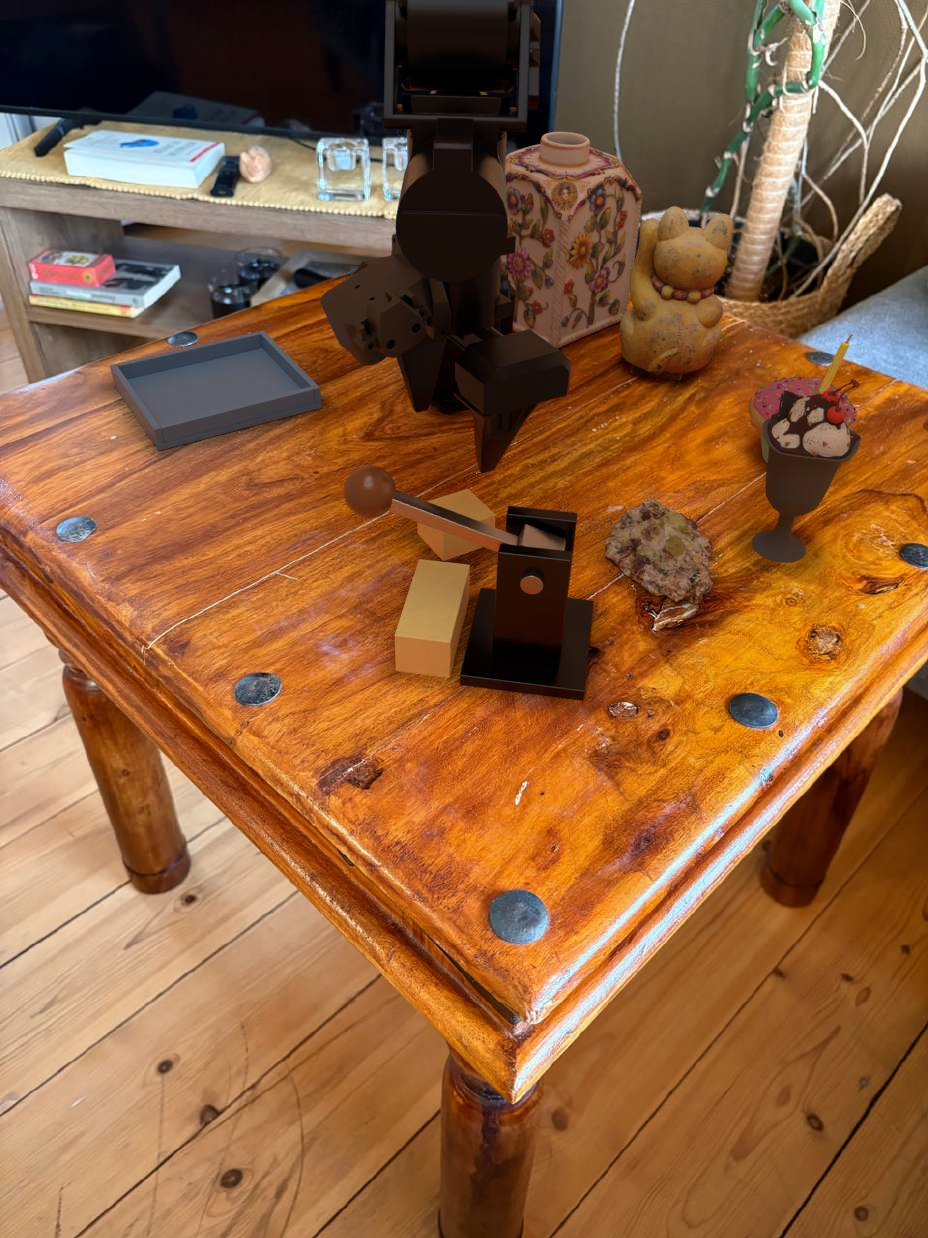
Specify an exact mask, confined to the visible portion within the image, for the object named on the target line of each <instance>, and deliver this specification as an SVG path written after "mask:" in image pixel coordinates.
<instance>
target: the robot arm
mask: <svg viewBox="0 0 928 1238" xmlns="http://www.w3.org/2000/svg"><path fill="white" fill-rule="evenodd" d="M534 10H535V1H534V0H385V11H384V13H385V14H384V15H385V18H384V19H385V20H384V64H383V65H384V66H383V72H384V73H383V78H384V79H383V114H382V115H383V118H382V119H383V120H382V121H383V129H385V130H407V131H406V153H407V154H406V157H407V159H406V160H407V161H406V162H407V164H406V167H405V170H404V174H403V178H402V183H401V188H400V194H399V198H398V204H397V210H396V215H395V233H393V234H392V235H391V252H390V255H387V256H382V257H377V258H371V259H367V260H363V261H362V262H361V263H360V264H359V266H358V267H357V269H356V270H355V271H354V273H353V274H352V275H350V276H349V277H348V278H346V279H345V280H343V281H341V282H339V283H338V284H336V285H335V286H333V287H332V288H330V289H328V290H326V291H325V292H324V293H323V294H322V295H321V297H320V300H319V303H320V306H321V308H322V310H323V312H324V314H325V316H326V319H327V321H328V323H329V325H330V327H331V329H332V331H333V334H334V336H335V338H336V340H337V343H338V344H339V346H341V348H343V349H345V350H346V351H348V353H350V354H351V355H352V357H354V359H355V360H356V362H358V363H359V364H360V365H361V366H365V367H366V366H367V367H369V366H375V365H378V364H380V363H381V362H383V361H384V360H386V359H387V358H390V359H396V362H397V364H398V367H399V370H400V373H401V376H402V379H403V382H404V385H405V388H406V392H407V394H408V398H409V401H410V404H411V407H412V409H413V412H415V413H416V414H418V413H423V412H426V411H429V409H430V407H431V404H433V405H434V406H435V407H436V408H437V409H439V410H440V411H441V412H443V413H444V414H451V413H453V412H454V413H455V412H457V411H461V410H464V409H470V411H471V413H472V425H473V436H474V437H473V438H474V449H475V458H476V466H477V471H478V472H479V473H480V474H487V473H491V472H492V471H494V470H496V468H497V466H498V465H499V463H500V462H501V460H502V459H503V457H504V456H505V453H506V452H507V451H508V449H509V447H510V446H511V444H512V443H513V441H514V440H515V438H516V437H517V435H518V433H519V431H520V430H521V428H522V427H523V425H524V424H525V423H526V422H527V420H528V418H529V417H530V416H531V414H533V412H534V411H535V409H536V408H537V407H538V406H539V404H541V403H544V402H548V401H552V400H555V399H559V398H562V397H566V396H568V393H569V390H570V384H571V373H572V365H573V361H572V360H571V359H569V357H568V356H567V355H566V354H565V353H564V352H562V350H560V349H559V348H558V349H557V348H556V347H554V346H553V345H551V344H550V343H549V342H547V341H546V340H544V339H543V338H542V337H540V336H539V335H537V334H536V333H535V332H533V331H532V330H530V329H528V330H524V331H520V332H514V331H513V317H514V307H515V298H516V290H515V289H514V288H513V287H512V286H511V284H510V280H508V272H501V256H503V255H508V254H512V253H515V247H516V236H514V235H513V234H511V233H510V232H508V215H507V197H506V178H505V159H506V156H507V134H508V133H528V132H527V131H528V112H529V111H528V110H536V111H537V110H538V108H539V101H540V71H541V69H540V67H541V66H540V65H541V64H540V63H541V20H540V19H539V17H538V16H537V14H536V13H535V12H534ZM400 68H401V79H400V80H401V82H400V83H401V87H402V88H403V89H404V90H405V91H428V92H429V91H430V92H429V93H427V92H402V93H401V103H400V104H399V103H398V91H399V90H398V89H399V88H398V86H399V69H400ZM514 70H515V71H516V102H515V103H516V104H515V105H516V107H515V106H514V107H513V106H511V96H510V95H505V93H506V94H507V93H508V94H509V93H511V91H512V90H514ZM489 93H504V95H503V94H502V95H501V94H489Z"/></svg>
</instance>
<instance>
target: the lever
mask: <svg viewBox="0 0 928 1238" xmlns="http://www.w3.org/2000/svg"><path fill="white" fill-rule="evenodd" d="M343 497H344V501H345V504H346V505H347V507H348V509H350V510H351V512H353V513H354V514H355V515H357V516H359V517H361V518H364V519H376V518H379V517H382V516H384V515H386V514H387V513H388V512H389V513H391V514H394V515H397V516H400V517H402V518H405V519H408V520H411V521H413V522H416V523H417V522H418V523H421V524H423V525H426V526H429V527H431V528H434V529H437V530H439V531H442V532H444V533H447V534H450V535H452V536H455V537H458V538H460V539H463V540H466V541H468V542H471V543H473V544H476V545H479V546H481V547H482V548H484V549H487V550H489V551H492V552H495V553H497V554H498V549H499V545H500V544H510V545H519V546H528V547H537V548H545V549H554V550H563V551H565V544H566V539H564V538H561V537H559V536H556V535H554V534H551V533H548V532H546V531H543V530H540V529H538V528H535V527H533V526H530V525H527V524H525V525H524V526H523V528H522V530H521V532H520V535H519V536H516V535H513V534H511V533H508V532H506V531H505V530H504V529H500V528H498V527H496V526H495V527H493V526H490V525H487V524H485V523H482V522H480V521H477V520H474V519H472V518H469V517H466V516H464V515H461V514H459V513H456V512H453V511H451V510H448V509H446V508H443V507H440V506H438V505H435V504H432V503H430V502H427V501H428V500H425V499H422V498H419V497H418V496H417V497H416V496H414V495H411V494H408V493H406V492H404V491H401V490H399V489H397V487H396V483H395V480H394V479H393V477H392V475H391V474H390V473H389V472H388V471H387V470H385V469H384V468H382V467H380V466H377V465H369V464H368V465H362V466H360V467H357V468H356V469H354V470H353V471H351V472H350V474H349V475H348V476H347V478H346V479H345V481H344V485H343Z"/></svg>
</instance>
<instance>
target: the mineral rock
mask: <svg viewBox="0 0 928 1238" xmlns="http://www.w3.org/2000/svg"><path fill="white" fill-rule="evenodd" d="M698 526H699V525H698V524H697V522H696V521H694V519H692V518H689V517H687V516H686V515H684V514H683V513H682V512H678V511H675V510H673V509H672V508H670V507H668V506H667V505H663V503H662V502H661V501H658V500H657V499H656V498H645V500H644V501H643V502H642V503H640V504H639V505H637V506H634V507H633V508H631V509H627V510H626V512H625V513H624V514H623V516H622V517H621V518H620V519H619V520H618V522H617V523H615V524H614V525H613V527H612V529H611V533H610V535H609V537H607V538H606V540H605V545H606V551H605V556H606V557H607V558H608V559H610V560H611V561H612V562H613V563H614V564H615V565H616V566H618V567H619V569H620V571H621V573H623V575H625V576H626V577H629V578H630V579H631V581H634V582H635V583H637V584H639V585H640V586H641V587H642V588H644V589H645V590H646V591H647V592H648V593H649V594H651V595H653V596H654V595H655V596H656V597H659V596H665V597H667V598H669V599H670V600H671V601H674V602H675V603H678V602H679V601H681V600H684V601H687V602H689V603H691V604H694V605H697V604H700V603H702V601H703V598H704V597H703V595H707V594H708V593H709V592H711V591H712V586H713V584H714V582H713V581H712V579H711V576H710V572H709V567H710V562H711V561H710V560H709V558H711V557H712V552H713V550H714V547H713V544H712V541H711V538H709V537H707V536H705V535H704V534H702V533H701V532H700V531H698Z"/></svg>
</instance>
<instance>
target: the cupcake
mask: <svg viewBox="0 0 928 1238" xmlns="http://www.w3.org/2000/svg"><path fill="white" fill-rule="evenodd" d="M853 336H854V334H853V333H850V334H849V336H848V337H847V339H846V340H843V341H841V343H840V344H839V346H838V349H837V351H836V353H835V354H834V357H833V359H832V361H831V363H830V365H829V368H828V370H827V372H826V374H825V376H824V378H823V379H822V378H819V377H818V378H817V377H812V376H811V377H802V376H799V377H797V376H789V377H783V378H780V379H774V380H773V381H771V382H769V383H767V384H764V385H762V387H760V388H758V390H757V391H756V392H755V393H754V396H752V399H751V400H750V403H749V407H748V414H749V416H750V424H751V426H752V427H753V428H754V429H755V430H757V431H758V432H759V438H760V446H761V456H762V459H763V461H764V462H765V463H766V464H767V463H768V454H769V445H768V443H767V441H766V439H765V437H764V435H763V429H762V427H763V423H764V422H765V421H766V420H767V419H770V418H771V416H772V415H773V414H776V413H778V412H779V405H780V399H781V394H782V392H783V391H784V390H787V391H790V392H793V393H795V394H797V395H800V396H804V397H806V396H809V395H813V394H816V393H819V394H823V392H824V391H826V390H833V391H835V390H837V389H839V387H837V386H836V385H834V384H833V383H832V382H833V380H834V378H835V376H836V375H837V372H838V370H839V368H840V366H841V363H843V360H844V358H845V355H846V354H847V353H848V352H847V351H848V349H849V347H850V345H851V344H850V341H851V340H852V337H853ZM837 393H838V395H839V397H840V395H841V394H842V393H843V391H842V389H841V390H839V391H838V392H837ZM849 398H850V397H849V396H847V394H846V393H845V394H844V395H843V396H842V398H841V400H840V403H839V407H841V408H842V409H843V410H845V413H846V414H845V418H844V419H843V420H844V421H845V423H846V424H847V426H848V428H850V429H851V430H854V428H855V425H856V421H857V415H858V413H859V410H857V409H856V407H855V406H854V403H853V402H852V401H851V400H850V399H849Z"/></svg>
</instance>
